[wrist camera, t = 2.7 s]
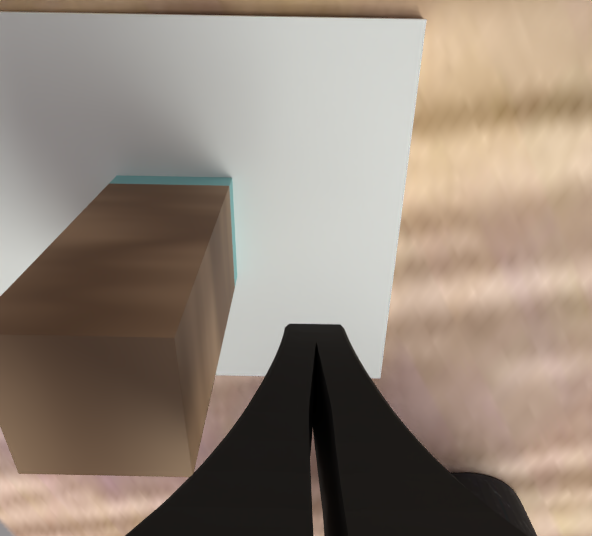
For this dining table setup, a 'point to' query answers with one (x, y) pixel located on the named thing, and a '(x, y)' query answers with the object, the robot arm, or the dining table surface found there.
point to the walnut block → (120, 332)
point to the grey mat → (224, 150)
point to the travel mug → (498, 499)
